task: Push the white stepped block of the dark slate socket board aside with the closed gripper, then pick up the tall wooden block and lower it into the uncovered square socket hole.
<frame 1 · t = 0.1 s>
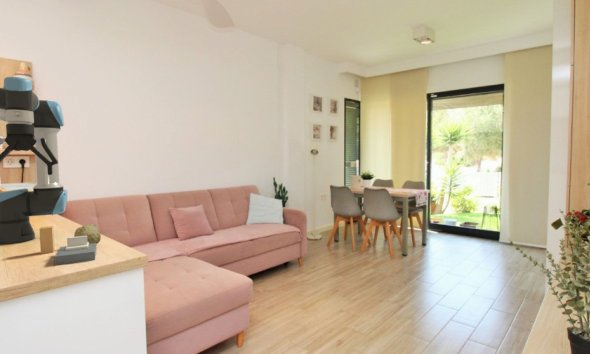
hand: (23, 185, 117), 28 cm above the table, fingers open, 13 cm apart
tall wooden block: (47, 252, 134), on the table
socket board: (77, 257, 127), on the table
white stepped block: (77, 242, 129), point 5 cm above the table, slide at 0.0 cm
coral: (86, 246, 143), on the table
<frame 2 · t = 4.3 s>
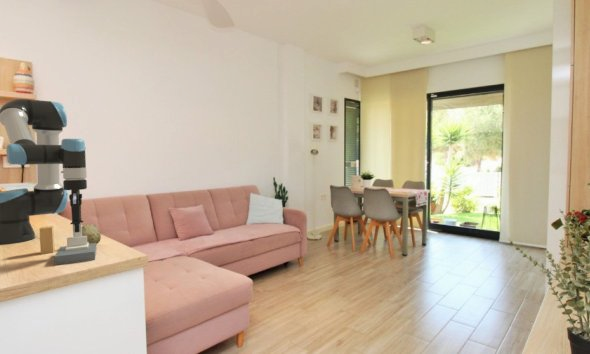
hand: (77, 240, 130), 6 cm above the table, fingers closed
white stepped block: (77, 242, 129), point 5 cm above the table, slide at 0.5 cm, touching gripper
everything else where it was.
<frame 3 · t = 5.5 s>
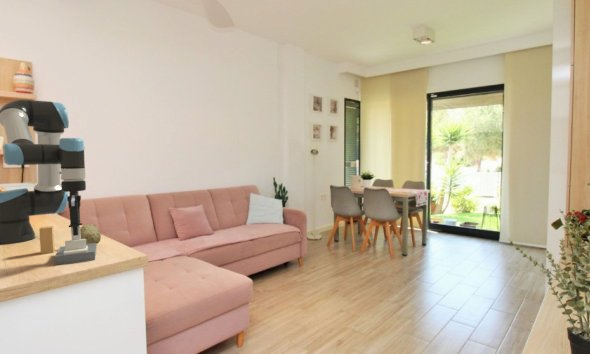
hand: (76, 243, 125), 6 cm above the table, fingers closed
white stepped block: (75, 245, 124), point 5 cm above the table, slide at 6.2 cm, touching gripper
everything else where it was.
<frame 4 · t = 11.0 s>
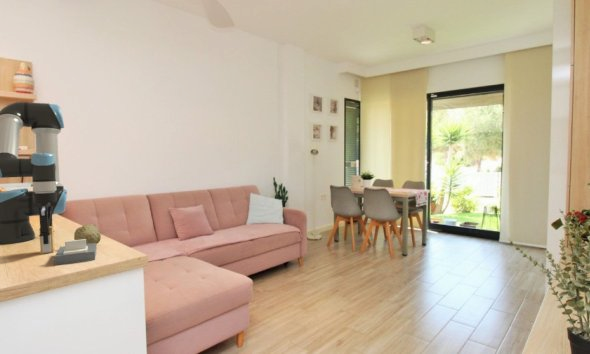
hand: (47, 250, 134), 1 cm above the table, fingers closed on tall wooden block, 4 cm apart
tall wooden block: (47, 252, 134), on the table, touching gripper
white stepped block: (75, 245, 123), point 5 cm above the table, slide at 6.5 cm
everything else where it was.
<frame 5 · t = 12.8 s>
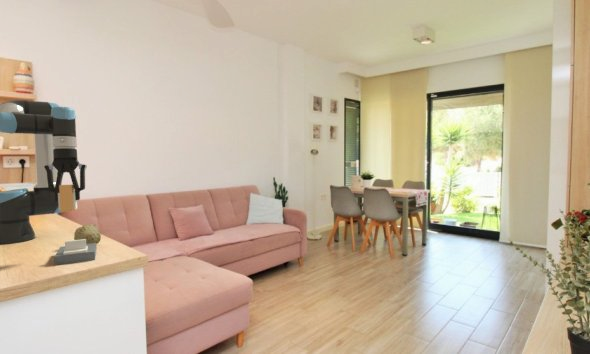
hand: (68, 209, 129), 18 cm above the table, fingers closed on tall wooden block, 4 cm apart
tall wooden block: (68, 210, 129), point 17 cm above the table, touching gripper
everything else where it was.
when the fingers open (3 cm above the table, at t = 14.9 s): tall wooden block drops 3 cm, resting in socket board.
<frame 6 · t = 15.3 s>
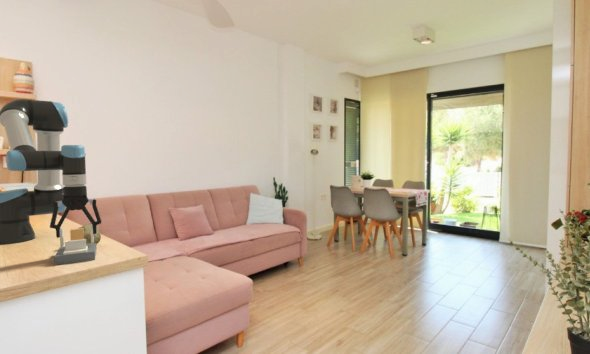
hand: (77, 244, 129), 4 cm above the table, fingers open, 9 cm apart
tall wooden block: (77, 255, 129), resting in socket board
everything else where it was.
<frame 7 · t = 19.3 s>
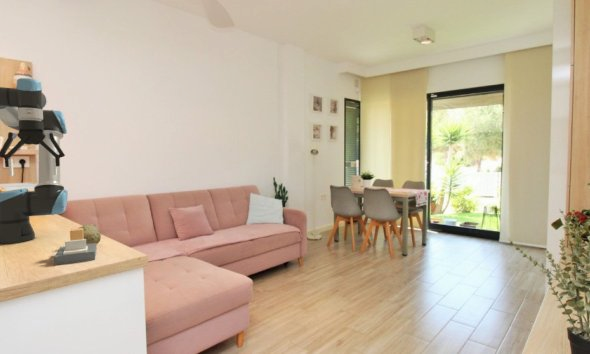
hand: (33, 175, 130), 31 cm above the table, fingers open, 13 cm apart
nothing on the table moved.
at the end: tall wooden block 0.1 cm from the target spot on the socket board, point 0.0 cm above the socket board's base; white stepped block slide at 6.5 cm; tall wooden block tilted 0° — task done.
